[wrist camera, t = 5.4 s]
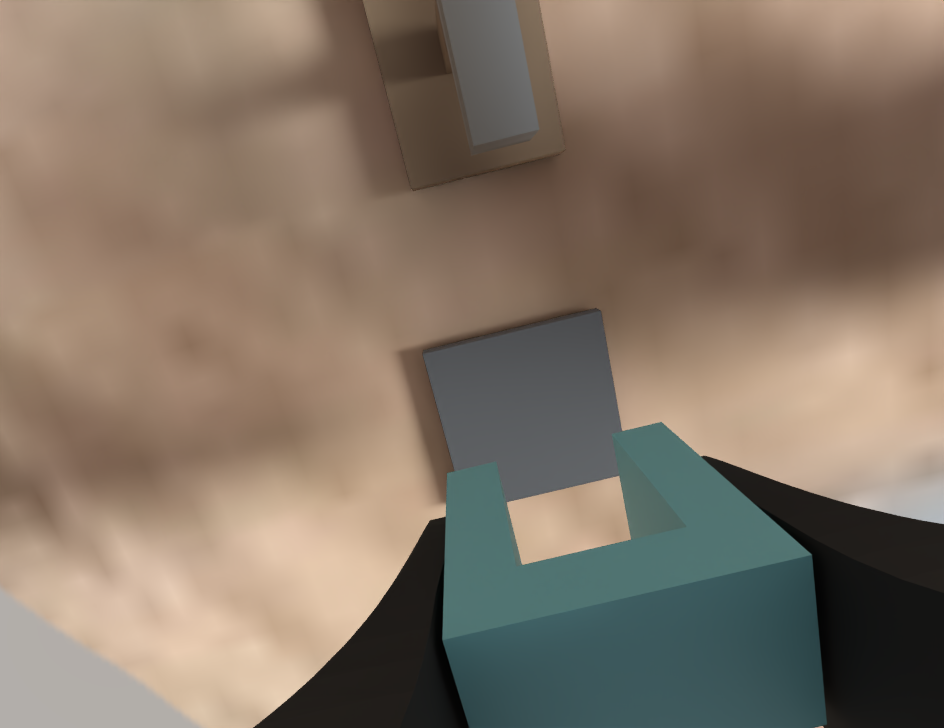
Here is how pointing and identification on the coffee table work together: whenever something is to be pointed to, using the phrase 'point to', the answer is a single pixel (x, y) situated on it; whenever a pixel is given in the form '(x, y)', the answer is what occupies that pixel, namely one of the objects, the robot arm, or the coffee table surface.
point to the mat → (530, 403)
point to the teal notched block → (634, 607)
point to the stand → (466, 85)
